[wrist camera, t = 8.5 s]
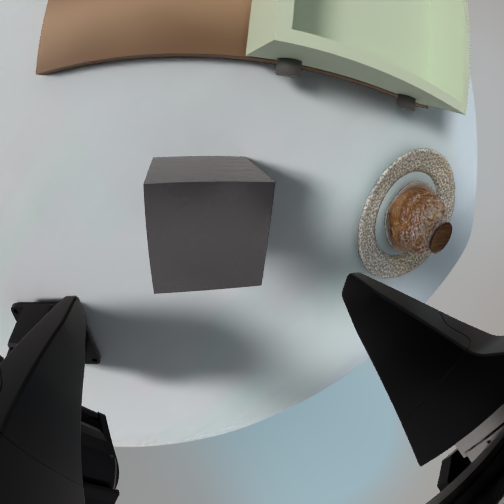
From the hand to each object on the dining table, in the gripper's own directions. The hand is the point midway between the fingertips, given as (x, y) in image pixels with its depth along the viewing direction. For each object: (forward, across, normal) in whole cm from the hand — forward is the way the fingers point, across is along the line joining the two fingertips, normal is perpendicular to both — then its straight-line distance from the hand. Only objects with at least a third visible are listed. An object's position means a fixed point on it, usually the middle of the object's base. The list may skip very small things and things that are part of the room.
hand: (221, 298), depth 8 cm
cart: (+7, -8, -14) cm, 18 cm away
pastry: (+9, -17, +1) cm, 19 cm away
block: (+8, 0, 0) cm, 8 cm away
